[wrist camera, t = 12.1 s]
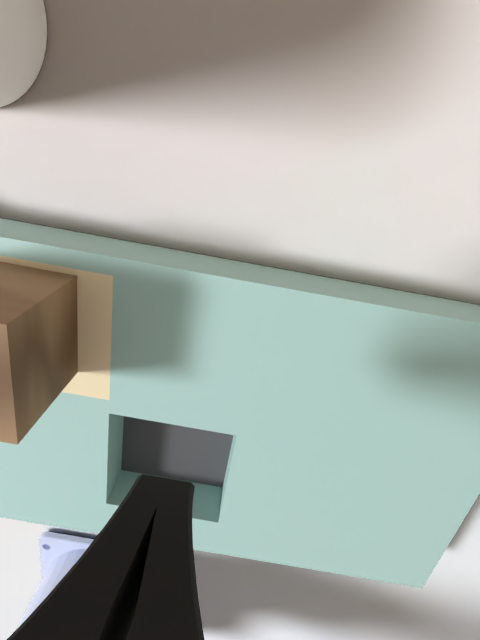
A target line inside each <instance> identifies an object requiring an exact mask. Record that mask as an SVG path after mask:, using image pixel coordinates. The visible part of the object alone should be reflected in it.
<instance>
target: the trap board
mask: <svg viewBox="0 0 480 640" xmlns="http://www.w3.org/2000/svg"><path fill="white" fill-rule="evenodd" d="M0 262H5V263H10V264H16V265H21V266H27V267H32V268H38V269H43V270H49V271H54V272H59V273H65V274H70V275H76V276H77V322H78V372H77V374H76V375H75V376H74V377H73V379H72V380H71V381H70V382H69V383H68V385H67V386H66V387H65V388H64V389H63V391H62V392H61V393H60V394H59V395H58V397H57V398H56V399H55V400H54V402H53V403H52V404H51V405H50V406H49V408H48V409H47V410H46V411H45V412H44V414H43V415H42V416H41V417H40V418H39V420H38V421H37V422H36V423H35V424H34V426H33V427H32V428H31V429H30V431H29V432H28V433H27V434H26V435H25V437H24V438H23V439H22V440H21V441H20V443H19V444H18V445H16V444H11V443H5V442H0V517H2V518H8V519H14V520H20V521H26V522H32V523H38V524H44V525H50V526H56V527H62V528H68V529H74V530H79V531H85V532H91V533H97V534H99V533H100V531H101V530H102V529H103V528H104V526H105V525H106V524H107V522H108V521H109V519H110V518H111V517H112V515H113V514H114V512H115V511H116V510H117V508H118V507H119V505H120V504H121V503H122V501H123V500H124V498H125V497H126V495H127V493H128V492H129V490H130V489H131V487H132V486H133V484H134V482H135V480H136V479H137V477H138V476H140V475H142V474H145V475H151V476H157V477H163V478H169V479H174V480H180V481H186V482H191V483H192V484H193V485H194V486H195V490H194V496H193V509H192V534H193V550H198V551H204V552H210V553H216V554H222V555H228V556H234V557H240V558H246V559H252V560H258V561H264V562H270V563H276V564H281V565H287V566H293V567H299V568H305V569H311V570H317V571H323V572H329V573H335V574H341V575H347V576H353V577H359V578H365V579H371V580H377V581H382V582H388V583H394V584H400V585H406V586H412V587H418V588H423V586H424V584H425V583H426V581H427V579H428V578H429V576H430V574H431V573H432V571H433V569H434V568H435V566H436V565H437V563H438V561H439V560H440V558H441V556H442V555H443V553H444V551H445V550H446V548H447V546H448V545H449V543H450V542H451V540H452V538H453V537H454V535H455V533H456V532H457V530H458V528H459V527H460V525H461V523H462V522H463V520H464V519H465V517H466V515H467V514H468V512H469V510H470V509H471V507H472V505H473V504H474V502H475V500H476V499H477V497H478V495H479V494H480V305H477V304H471V303H466V302H460V301H455V300H449V299H444V298H438V297H433V296H427V295H422V294H416V293H411V292H405V291H400V290H394V289H389V288H383V287H378V286H372V285H367V284H361V283H356V282H350V281H345V280H339V279H334V278H328V277H323V276H317V275H312V274H306V273H301V272H295V271H290V270H284V269H279V268H273V267H268V266H262V265H257V264H251V263H246V262H240V261H235V260H229V259H224V258H218V257H213V256H207V255H202V254H196V253H191V252H185V251H180V250H174V249H169V248H163V247H158V246H152V245H147V244H141V243H136V242H130V241H124V240H119V239H113V238H108V237H102V236H97V235H91V234H86V233H80V232H75V231H69V230H64V229H58V228H53V227H47V226H42V225H36V224H31V223H25V222H20V221H14V220H9V219H3V218H0Z"/></svg>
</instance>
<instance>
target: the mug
mask: <svg viewBox="0 0 480 640" xmlns="http://www.w3.org/2000/svg"><path fill="white" fill-rule="evenodd" d="M46 43H47V20H46V11H45V6H44V1H43V0H0V107H3V106H6V105H8V104H10V103H12V102H14V101H16V100H17V99H19V98H20V97H21V96H22V95H24V94H25V93H26V92H27V90H28V89H29V88H30V87H31V86H32V84H33V83H34V81H35V79H36V78H37V76H38V74H39V71H40V69H41V66H42V63H43V60H44V56H45V51H46Z"/></svg>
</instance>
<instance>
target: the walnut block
mask: <svg viewBox="0 0 480 640" xmlns="http://www.w3.org/2000/svg"><path fill="white" fill-rule="evenodd" d="M77 372H78V322H77V276H76V275H70V274H65V273H59V272H54V271H49V270H43V269H38V268H32V267H27V266H21V265H16V264H10V263H5V262H0V442H5V443H11V444H16V445H18V444H19V443H20V441H21V440H22V439H23V438H24V437H25V435H26V434H27V433H28V432H29V431H30V429H31V428H32V427H33V426H34V424H35V423H36V422H37V421H38V420H39V418H40V417H41V416H42V415H43V414H44V412H45V411H46V410H47V409H48V408H49V406H50V405H51V404H52V403H53V402H54V400H55V399H56V398H57V397H58V395H59V394H60V393H61V392H62V391H63V389H64V388H65V387H66V386H67V385H68V383H69V382H70V381H71V380H72V379H73V377H74V376H75V375H76V374H77Z"/></svg>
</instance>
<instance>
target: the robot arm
mask: <svg viewBox="0 0 480 640" xmlns="http://www.w3.org/2000/svg"><path fill="white" fill-rule="evenodd" d="M194 490H195V486H194V485H193V484H192V483H191V482H186V481H180V480H174V479H169V478H163V477H157V476H151V475H145V474H142V475H140V476H138V477H137V479H136V480H135V482H134V484H133V486H132V487H131V489H130V490H129V492H128V493H127V495H126V497H125V498H124V500H123V501H122V503H121V504H120V505H119V507H118V508H117V510H116V511H115V512H114V514H113V515H112V517H111V518H110V519H109V521H108V522H107V524H106V525H105V526H104V528H103V529H102V530H101V531H100V533H99V534H98V535H97V537H96V538H95V539H89V538H83V537H78V536H72V535H66V534H60V533H54V532H43V533H42V534H41V536H40V538H39V549H40V561H41V574H42V580H41V582H40V584H39V586H38V588H37V590H36V592H35V593H34V595H33V597H32V599H31V601H30V603H29V605H28V607H27V609H26V611H25V613H24V615H23V617H22V619H21V621H20V623H19V625H18V627H17V628H16V630H15V632H14V633H13V634H12V635H11V636H10V637H9V638H8V639H7V640H204V635H203V629H202V622H201V615H200V609H199V602H198V594H197V585H196V575H195V564H194V553H193V534H192V509H193V496H194Z"/></svg>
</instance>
